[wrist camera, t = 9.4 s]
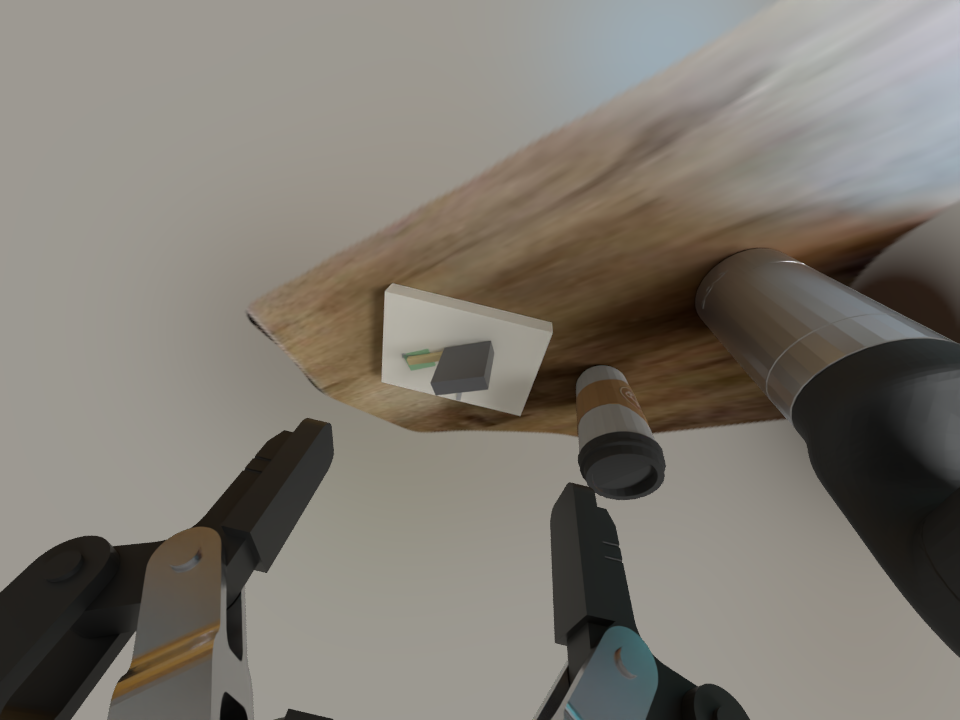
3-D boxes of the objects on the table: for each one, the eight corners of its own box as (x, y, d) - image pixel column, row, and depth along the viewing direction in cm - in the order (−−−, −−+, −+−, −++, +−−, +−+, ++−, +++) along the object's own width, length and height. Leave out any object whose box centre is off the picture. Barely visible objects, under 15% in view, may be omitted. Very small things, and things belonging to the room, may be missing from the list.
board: (552, 322, 41) (553, 333, 39) (520, 403, 49) (520, 417, 47) (392, 283, 41) (384, 292, 39) (387, 371, 49) (380, 383, 47)
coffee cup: (645, 385, 45) (688, 484, 32) (592, 414, 49) (611, 511, 36) (608, 345, 42) (639, 436, 30) (555, 379, 46) (562, 472, 34)
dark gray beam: (494, 352, 41) (488, 389, 36) (412, 364, 44) (394, 400, 38) (491, 340, 40) (484, 376, 35) (407, 353, 43) (387, 388, 37)
